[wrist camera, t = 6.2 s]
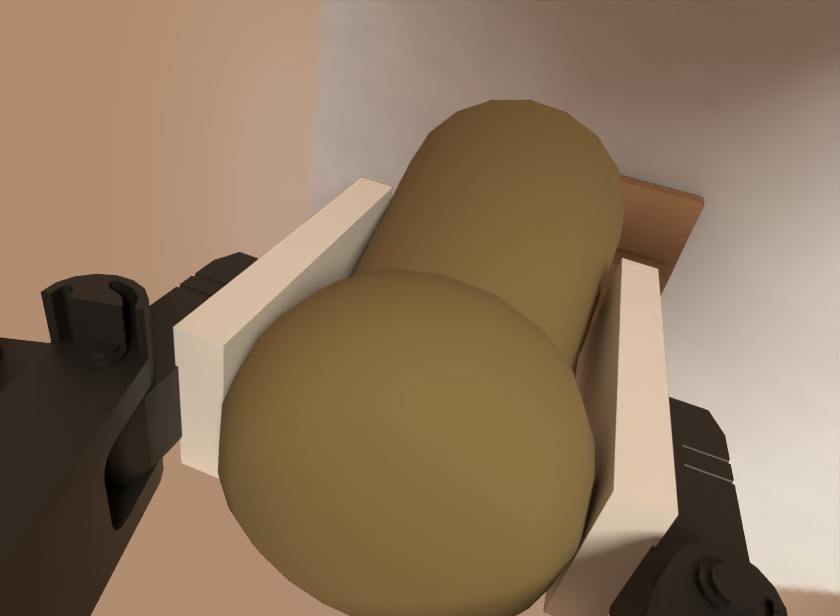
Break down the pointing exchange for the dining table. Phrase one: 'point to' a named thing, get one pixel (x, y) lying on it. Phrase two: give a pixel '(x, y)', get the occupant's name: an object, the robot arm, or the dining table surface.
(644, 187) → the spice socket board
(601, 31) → the dining table surface
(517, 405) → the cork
